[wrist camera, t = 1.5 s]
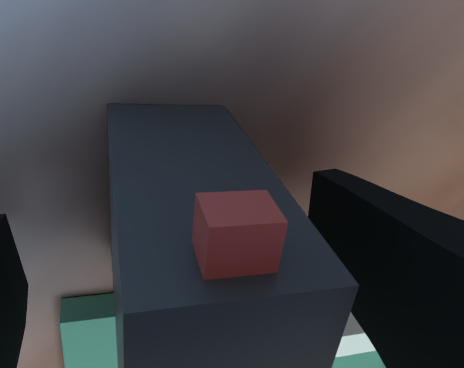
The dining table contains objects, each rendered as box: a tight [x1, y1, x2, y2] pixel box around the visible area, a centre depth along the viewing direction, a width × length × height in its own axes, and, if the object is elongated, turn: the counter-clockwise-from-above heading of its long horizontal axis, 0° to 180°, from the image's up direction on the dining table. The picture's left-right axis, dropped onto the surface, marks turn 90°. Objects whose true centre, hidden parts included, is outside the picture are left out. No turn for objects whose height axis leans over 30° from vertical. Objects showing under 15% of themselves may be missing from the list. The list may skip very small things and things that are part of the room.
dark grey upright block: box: [107, 104, 359, 368], centre depth 9 cm, size 3×6×7 cm, turn 173°
